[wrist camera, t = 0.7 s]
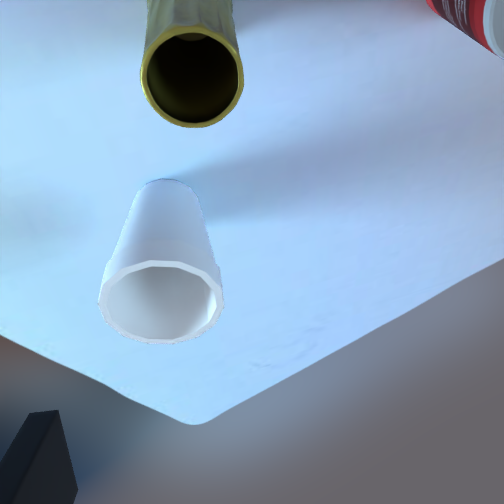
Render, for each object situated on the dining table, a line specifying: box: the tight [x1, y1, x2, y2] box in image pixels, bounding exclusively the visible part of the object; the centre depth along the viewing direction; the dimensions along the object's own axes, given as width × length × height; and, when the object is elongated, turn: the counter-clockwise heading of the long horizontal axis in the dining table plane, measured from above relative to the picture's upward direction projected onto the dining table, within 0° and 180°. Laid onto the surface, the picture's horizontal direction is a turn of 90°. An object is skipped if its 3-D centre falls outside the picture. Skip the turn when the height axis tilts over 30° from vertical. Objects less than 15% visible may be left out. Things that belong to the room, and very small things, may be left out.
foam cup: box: [98, 179, 224, 344], centre depth 41 cm, size 10×9×13 cm
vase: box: [140, 0, 244, 128], centre depth 29 cm, size 6×6×14 cm
